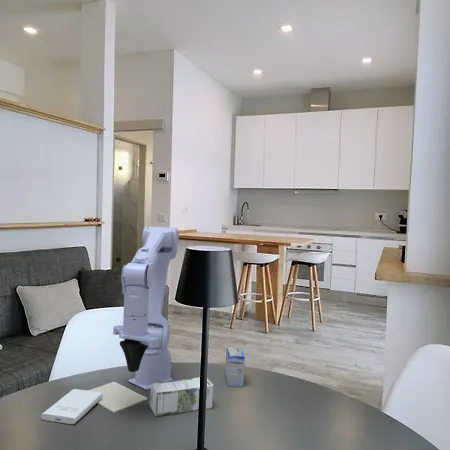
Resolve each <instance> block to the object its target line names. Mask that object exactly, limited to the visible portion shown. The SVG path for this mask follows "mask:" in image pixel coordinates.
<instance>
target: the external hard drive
mask: <svg viewBox="0 0 450 450" xmlns="http://www.w3.org/2000/svg"><path fill="white" fill-rule="evenodd" d="M102 396H103V394H102V393H101V392H94V391H88V390H86V389H78V388H74V389H71V390H70V391H69V392H67V393H66V394H65V395H64V396H63V397H62V398H60V399H59V400H58V401H56V402H55V403H54V404H53V405H51V406H50V407H49V408H48V409H46V410H45V411H44V412H42V413H41V415H40V416H41V420H43V421H48V422H54V423H59V424H60V423H62V424H68V425H75V424H76V423H77V422H78V421H80V419H82V417H84V416H85V415H86V414H87V413H88V412H89V411H90V410H91V409H92V408H93V407H94V406H95V405H96V404H97V402H98V401H99V400H100V399H102Z"/></svg>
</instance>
